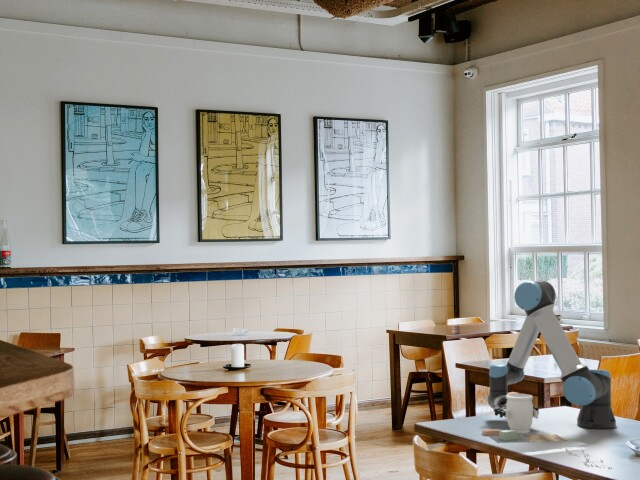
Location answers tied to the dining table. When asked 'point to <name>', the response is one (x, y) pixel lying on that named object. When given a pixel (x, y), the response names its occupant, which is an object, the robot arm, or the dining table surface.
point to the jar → (520, 412)
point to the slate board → (519, 439)
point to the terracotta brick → (490, 432)
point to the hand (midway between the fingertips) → (523, 415)
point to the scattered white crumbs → (587, 459)
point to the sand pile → (544, 438)
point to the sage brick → (508, 434)
